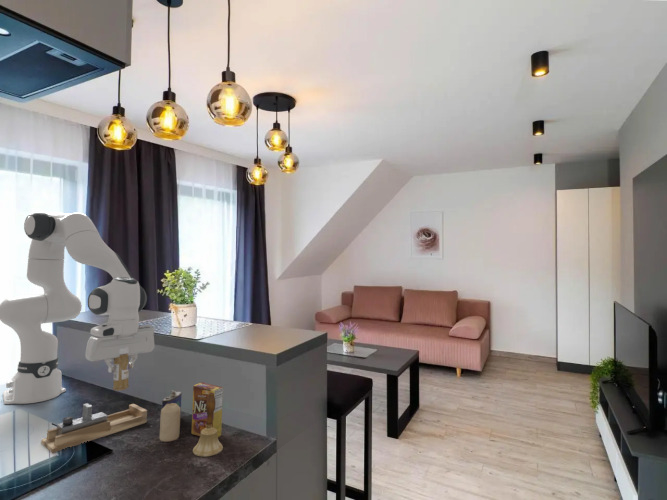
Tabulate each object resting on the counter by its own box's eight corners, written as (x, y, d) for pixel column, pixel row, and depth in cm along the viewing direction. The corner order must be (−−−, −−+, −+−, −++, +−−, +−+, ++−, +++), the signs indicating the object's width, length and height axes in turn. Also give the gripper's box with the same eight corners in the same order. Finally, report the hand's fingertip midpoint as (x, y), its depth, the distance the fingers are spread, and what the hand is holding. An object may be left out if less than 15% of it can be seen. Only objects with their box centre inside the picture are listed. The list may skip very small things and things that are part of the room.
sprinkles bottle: (129, 389, 120) (130, 347, 120) (113, 392, 117) (113, 349, 118) (128, 385, 124) (128, 344, 124) (112, 387, 121) (112, 346, 121)
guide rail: (41, 443, 107) (42, 428, 107) (133, 415, 128) (133, 403, 128) (52, 453, 102) (53, 438, 102) (146, 422, 123) (147, 410, 123)
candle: (169, 443, 110) (171, 409, 110) (155, 439, 111) (157, 405, 112) (183, 435, 115) (184, 402, 115) (169, 432, 117) (170, 400, 117)
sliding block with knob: (56, 438, 108) (57, 410, 108) (101, 424, 118) (102, 399, 118) (61, 442, 106) (63, 413, 106) (106, 428, 115) (108, 402, 116)
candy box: (190, 434, 115) (192, 385, 116) (200, 429, 119) (202, 381, 120) (211, 441, 112) (214, 390, 112) (221, 435, 116) (224, 386, 116)
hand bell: (207, 440, 112) (210, 386, 113) (229, 447, 109) (231, 391, 109) (186, 452, 105) (188, 395, 105) (208, 460, 101) (211, 400, 102)
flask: (175, 417, 128) (177, 385, 128) (183, 418, 128) (184, 386, 128) (159, 428, 119) (160, 394, 119) (167, 429, 118) (169, 395, 119)
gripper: (149, 322, 132) (147, 362, 131) (84, 329, 115) (81, 374, 114) (159, 324, 128) (157, 365, 127) (93, 332, 111) (90, 379, 111)
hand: (120, 370), depth 121 cm, fingers closed on sprinkles bottle, 4 cm apart
